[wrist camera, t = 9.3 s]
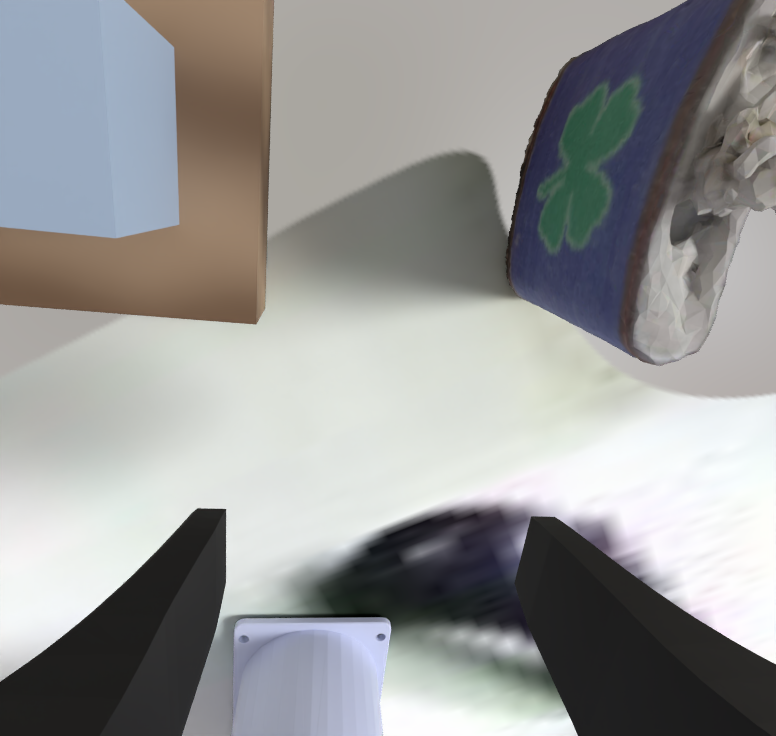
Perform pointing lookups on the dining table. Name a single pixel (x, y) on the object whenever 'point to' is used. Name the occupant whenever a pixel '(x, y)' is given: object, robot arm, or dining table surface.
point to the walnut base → (180, 188)
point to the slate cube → (86, 119)
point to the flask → (649, 176)
